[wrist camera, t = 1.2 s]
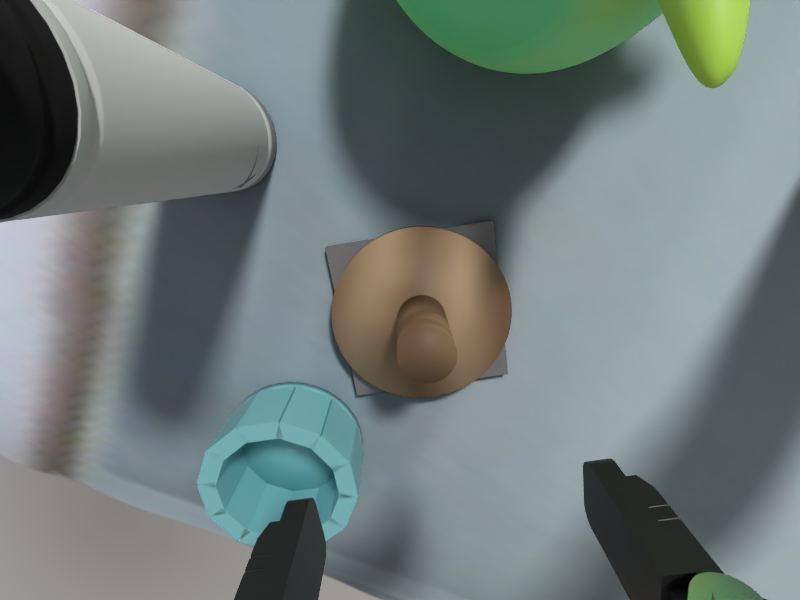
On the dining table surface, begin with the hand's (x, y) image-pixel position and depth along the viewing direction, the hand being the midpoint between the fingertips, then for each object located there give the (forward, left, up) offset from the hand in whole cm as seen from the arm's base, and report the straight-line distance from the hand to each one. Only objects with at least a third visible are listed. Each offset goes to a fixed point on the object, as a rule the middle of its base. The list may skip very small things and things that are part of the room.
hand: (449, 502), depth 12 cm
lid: (0, 0, -17) cm, 17 cm away
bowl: (+11, +9, -18) cm, 23 cm away
